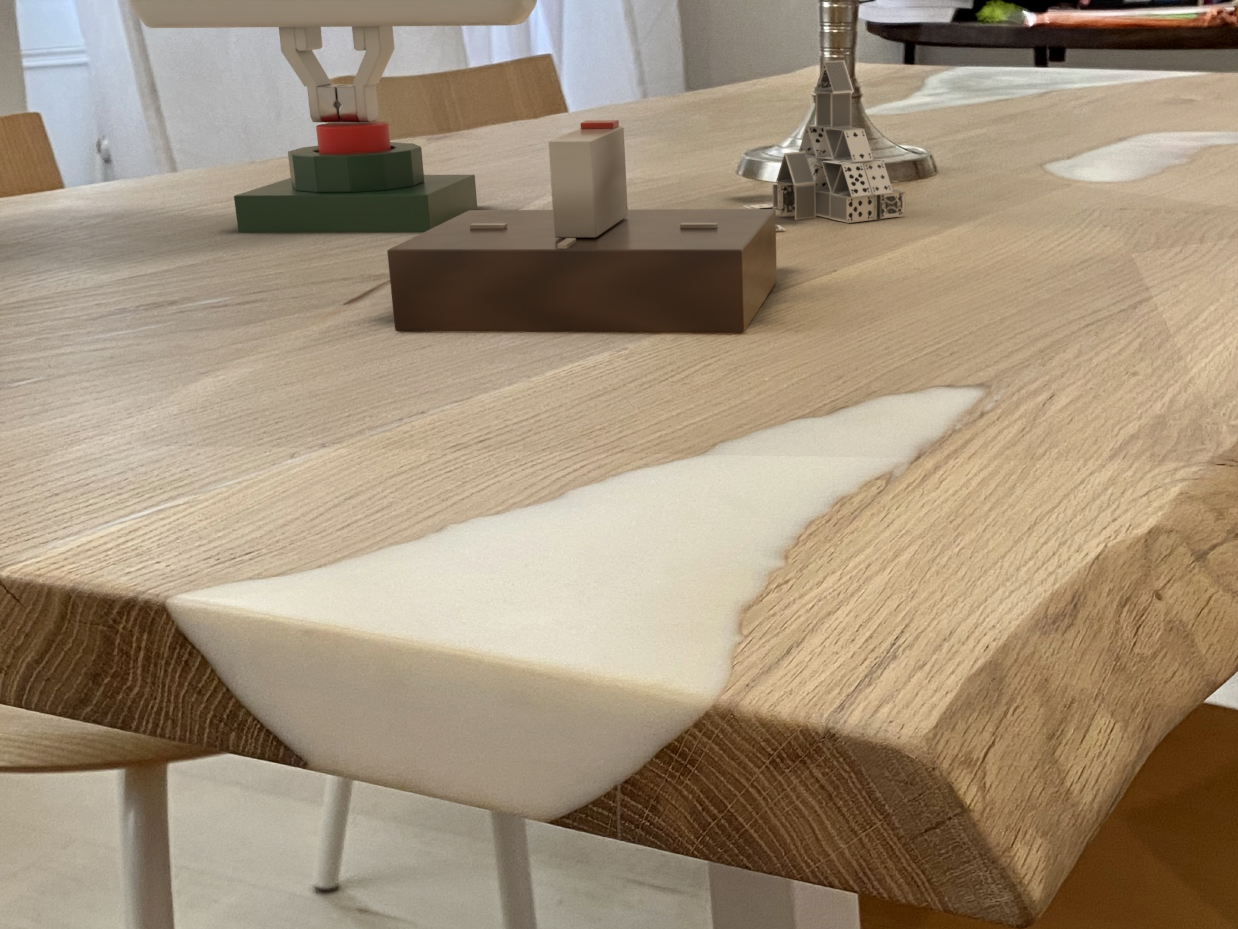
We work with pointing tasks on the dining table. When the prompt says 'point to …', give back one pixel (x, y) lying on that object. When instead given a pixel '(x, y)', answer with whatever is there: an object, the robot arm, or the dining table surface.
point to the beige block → (588, 179)
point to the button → (353, 137)
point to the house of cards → (834, 164)
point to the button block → (356, 194)
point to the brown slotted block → (586, 273)
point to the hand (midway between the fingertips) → (345, 121)
